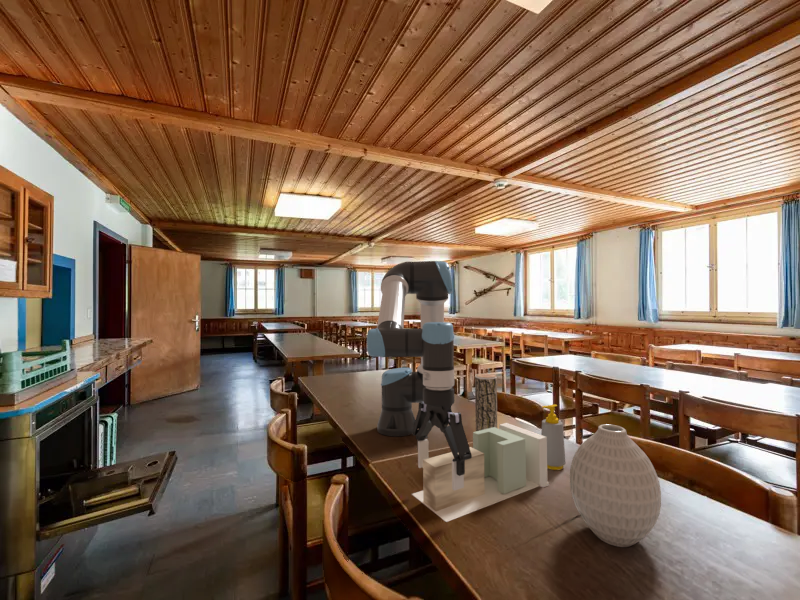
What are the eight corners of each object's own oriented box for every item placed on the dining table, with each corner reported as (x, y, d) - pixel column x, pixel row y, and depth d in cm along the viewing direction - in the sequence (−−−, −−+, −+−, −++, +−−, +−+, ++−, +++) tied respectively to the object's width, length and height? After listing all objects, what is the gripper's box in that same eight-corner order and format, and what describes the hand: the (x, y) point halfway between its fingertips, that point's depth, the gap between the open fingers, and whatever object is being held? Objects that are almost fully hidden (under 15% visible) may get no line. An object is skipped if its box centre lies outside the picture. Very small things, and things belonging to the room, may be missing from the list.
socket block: (473, 476, 101) (472, 432, 101) (494, 469, 105) (494, 427, 105) (503, 493, 91) (503, 445, 91) (525, 485, 95) (525, 438, 96)
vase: (596, 506, 87) (595, 411, 88) (677, 543, 74) (675, 431, 74) (554, 529, 78) (552, 424, 79) (636, 576, 65) (634, 448, 65)
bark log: (498, 458, 115) (497, 378, 115) (476, 457, 116) (474, 377, 116) (497, 450, 121) (496, 373, 122) (476, 448, 123) (475, 373, 123)
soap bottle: (535, 463, 111) (534, 403, 112) (553, 459, 114) (552, 401, 114) (551, 472, 105) (550, 409, 105) (571, 468, 107) (570, 406, 107)
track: (411, 497, 92) (411, 445, 92) (508, 465, 110) (507, 422, 110) (446, 525, 80) (445, 466, 80) (548, 485, 98) (548, 436, 98)
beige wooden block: (423, 501, 89) (423, 459, 89) (471, 485, 96) (470, 446, 96) (435, 511, 84) (435, 467, 85) (484, 493, 92) (484, 453, 92)
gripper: (398, 380, 97) (399, 461, 97) (460, 399, 76) (461, 504, 75) (422, 377, 101) (423, 455, 100) (487, 394, 80) (488, 494, 79)
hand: (439, 476), depth 88 cm, fingers open, 13 cm apart
